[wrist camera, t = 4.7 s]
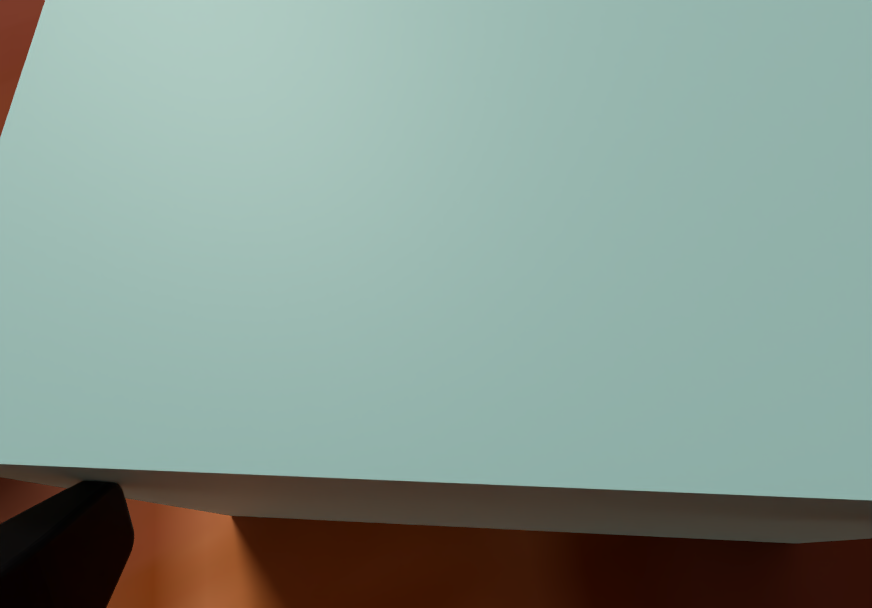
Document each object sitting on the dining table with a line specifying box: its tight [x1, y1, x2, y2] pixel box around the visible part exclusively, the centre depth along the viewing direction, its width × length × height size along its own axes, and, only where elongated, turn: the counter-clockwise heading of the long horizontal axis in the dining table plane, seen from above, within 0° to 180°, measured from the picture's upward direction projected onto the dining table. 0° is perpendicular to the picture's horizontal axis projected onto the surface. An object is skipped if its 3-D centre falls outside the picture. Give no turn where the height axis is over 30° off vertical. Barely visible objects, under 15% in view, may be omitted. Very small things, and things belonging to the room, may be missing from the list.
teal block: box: [0, 0, 872, 543], centre depth 12 cm, size 10×12×9 cm
